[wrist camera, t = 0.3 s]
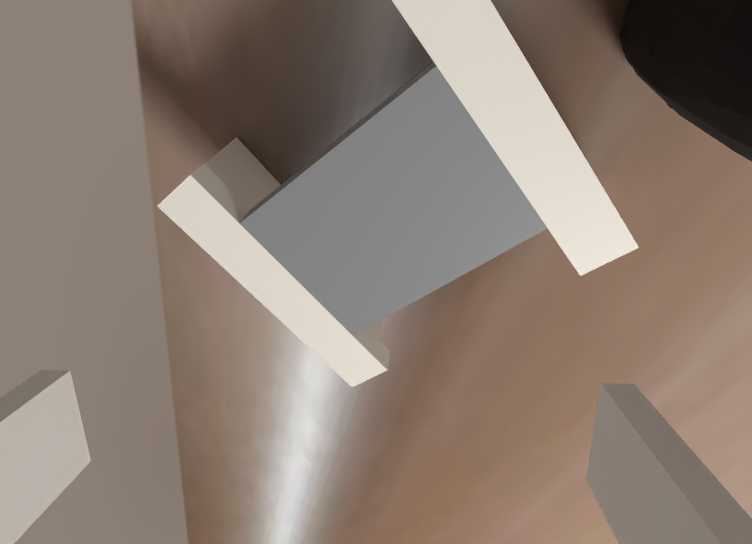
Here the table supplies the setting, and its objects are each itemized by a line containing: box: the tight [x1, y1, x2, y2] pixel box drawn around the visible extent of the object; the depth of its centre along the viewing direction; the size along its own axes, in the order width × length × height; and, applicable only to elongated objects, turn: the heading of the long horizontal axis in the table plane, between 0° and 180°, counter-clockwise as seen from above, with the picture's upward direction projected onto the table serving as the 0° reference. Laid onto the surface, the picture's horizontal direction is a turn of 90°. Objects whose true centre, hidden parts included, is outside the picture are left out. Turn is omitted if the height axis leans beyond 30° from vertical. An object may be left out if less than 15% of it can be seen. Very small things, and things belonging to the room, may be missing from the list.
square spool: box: [158, 0, 639, 387], centre depth 32 cm, size 22×19×10 cm
